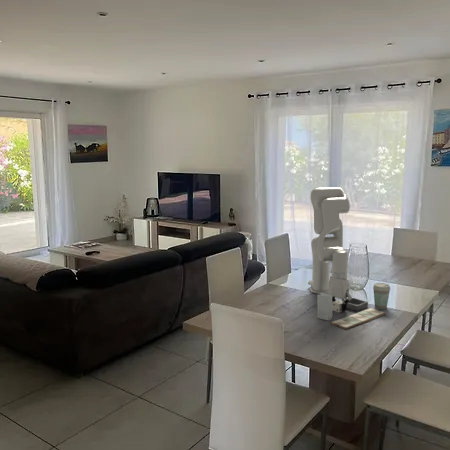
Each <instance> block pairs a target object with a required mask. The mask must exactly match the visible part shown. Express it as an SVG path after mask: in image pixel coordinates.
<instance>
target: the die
mask: <svg viewBox="0 0 450 450" xmlns="http://www.w3.org/2000/svg"><path fill="white" fill-rule="evenodd" d="M342 304H343V302H342V300H340V299H336V301H333V302H332V312H333V311H334V312H337V313H342V312H343V311H342Z"/></svg>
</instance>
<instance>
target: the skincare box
mask: <svg viewBox="0 0 450 450" xmlns="http://www.w3.org/2000/svg"><path fill="white" fill-rule="evenodd" d="M316 297H317V299H316V300H317V318H318V319H321V320H324V321H331V320H332V319H333V310H332V295H330V294H325V293H320V294H317V296H316Z"/></svg>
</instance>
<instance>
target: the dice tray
mask: <svg viewBox="0 0 450 450" xmlns="http://www.w3.org/2000/svg"><path fill="white" fill-rule="evenodd" d="M368 305H369V302H368V301H365V300H363V299H359V298H356V297H352V299H351V300H350V301H349V302H348V303H347V309H348V310H351V311H354V312H355V313H358V312H361V311H363V310H366V309H369V306H368Z"/></svg>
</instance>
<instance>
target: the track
mask: <svg viewBox="0 0 450 450" xmlns="http://www.w3.org/2000/svg"><path fill="white" fill-rule="evenodd" d="M385 315H386V312H384V311H381V310H379V309H376V308H371V307H368V308H365V309H362V310H360V311H357V312H355V313H353V314H351V315H348V316H345V317H341V318H339V319H337V320H333V321H330V325H332V326H335V327H338V328H341V329H343V330H345V331H347V330H349V329H353V328H355V327H357V326H360V325H362V324H365V323H367V322H370V321H373V320H375V319H378V318H381V317H383V316H385Z"/></svg>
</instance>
